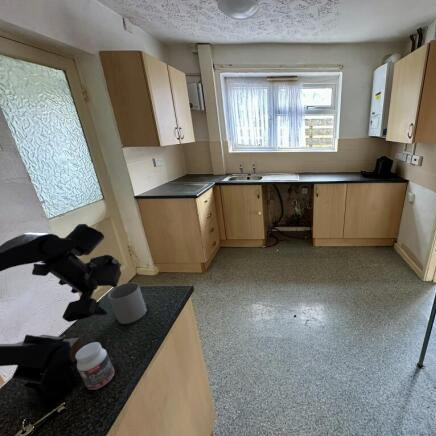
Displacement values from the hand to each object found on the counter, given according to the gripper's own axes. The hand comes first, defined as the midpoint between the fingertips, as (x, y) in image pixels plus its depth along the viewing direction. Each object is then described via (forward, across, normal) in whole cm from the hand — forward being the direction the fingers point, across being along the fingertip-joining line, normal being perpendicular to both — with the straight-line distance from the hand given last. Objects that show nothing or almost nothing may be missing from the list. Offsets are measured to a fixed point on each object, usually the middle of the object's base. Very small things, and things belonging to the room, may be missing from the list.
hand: (110, 299), depth 70 cm
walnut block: (+6, -11, +11) cm, 17 cm away
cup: (+13, +2, +1) cm, 13 cm away
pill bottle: (+5, -20, -1) cm, 21 cm away
